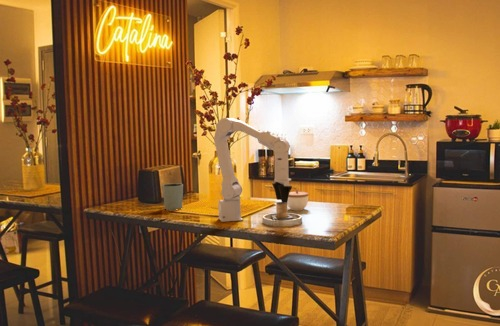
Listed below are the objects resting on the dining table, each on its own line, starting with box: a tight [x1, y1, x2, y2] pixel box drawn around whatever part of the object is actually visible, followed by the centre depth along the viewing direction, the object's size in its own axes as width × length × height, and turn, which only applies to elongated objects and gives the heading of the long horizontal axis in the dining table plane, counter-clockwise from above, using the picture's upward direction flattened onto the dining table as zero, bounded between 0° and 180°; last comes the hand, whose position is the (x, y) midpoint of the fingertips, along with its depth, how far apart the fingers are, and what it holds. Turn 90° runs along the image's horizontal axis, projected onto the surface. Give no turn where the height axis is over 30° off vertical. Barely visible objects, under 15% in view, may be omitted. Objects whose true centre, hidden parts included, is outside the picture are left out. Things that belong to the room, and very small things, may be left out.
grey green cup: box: [161, 182, 184, 211], centre depth 250 cm, size 10×10×12 cm
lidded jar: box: [287, 189, 309, 212], centre depth 243 cm, size 11×11×9 cm
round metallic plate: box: [261, 212, 303, 228], centre depth 215 cm, size 16×16×2 cm
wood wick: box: [275, 201, 288, 218], centre depth 214 cm, size 4×2×8 cm, turn 103°
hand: (281, 201), depth 214 cm, fingers open, 7 cm apart
